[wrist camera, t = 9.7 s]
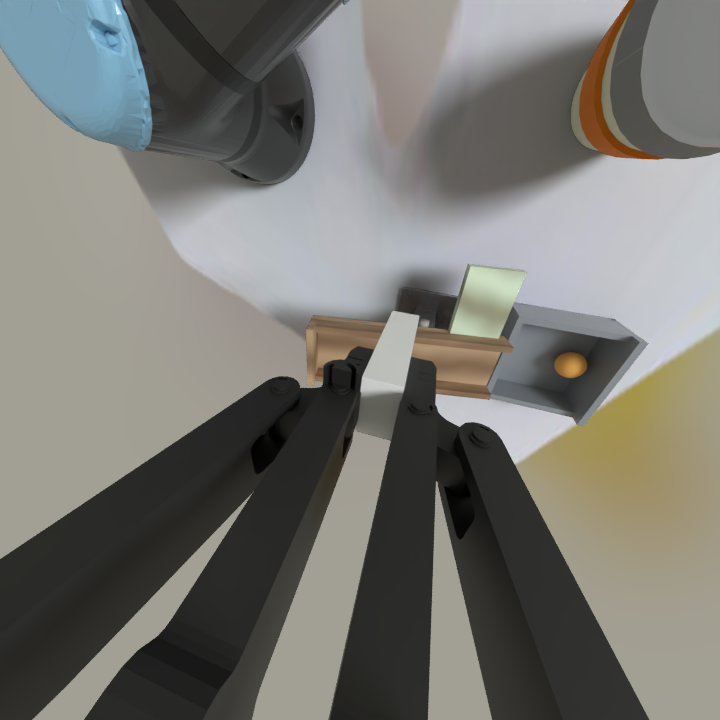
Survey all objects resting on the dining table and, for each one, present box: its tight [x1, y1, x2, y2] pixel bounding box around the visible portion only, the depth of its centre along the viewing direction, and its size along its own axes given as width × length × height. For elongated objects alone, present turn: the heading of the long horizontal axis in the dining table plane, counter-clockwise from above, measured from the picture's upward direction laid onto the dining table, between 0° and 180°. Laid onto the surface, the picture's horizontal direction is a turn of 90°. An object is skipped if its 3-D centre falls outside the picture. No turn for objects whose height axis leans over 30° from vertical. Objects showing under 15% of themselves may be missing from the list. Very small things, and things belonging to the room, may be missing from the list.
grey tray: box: [486, 302, 648, 426], centre depth 37 cm, size 13×13×7 cm
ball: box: [554, 352, 587, 378], centre depth 37 cm, size 4×4×4 cm
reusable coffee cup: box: [571, 0, 720, 159], centre depth 19 cm, size 13×13×15 cm
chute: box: [306, 264, 527, 400], centre depth 32 cm, size 17×24×5 cm
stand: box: [399, 287, 458, 330], centre depth 40 cm, size 12×8×7 cm, turn 175°
